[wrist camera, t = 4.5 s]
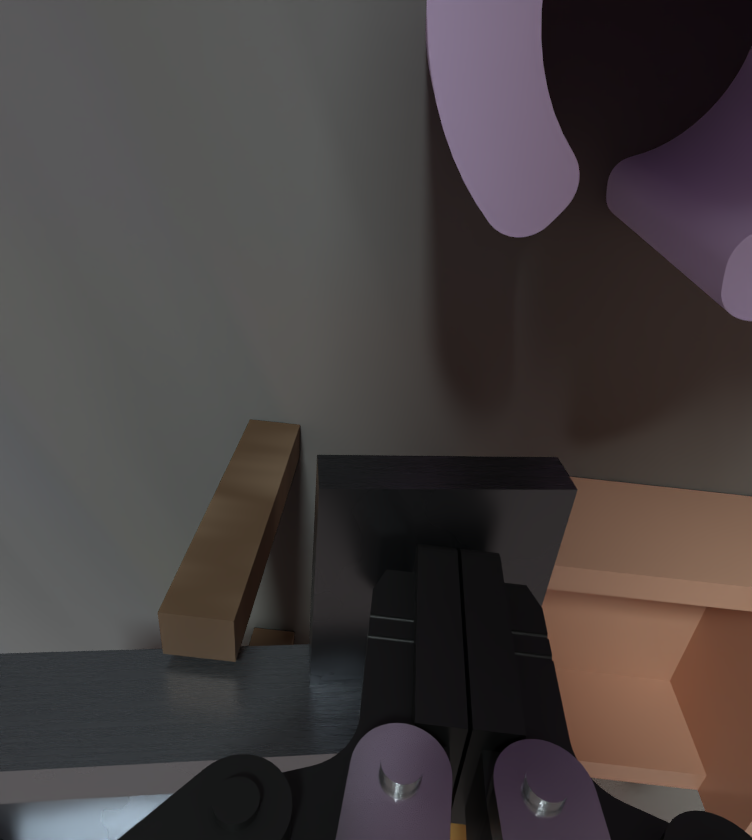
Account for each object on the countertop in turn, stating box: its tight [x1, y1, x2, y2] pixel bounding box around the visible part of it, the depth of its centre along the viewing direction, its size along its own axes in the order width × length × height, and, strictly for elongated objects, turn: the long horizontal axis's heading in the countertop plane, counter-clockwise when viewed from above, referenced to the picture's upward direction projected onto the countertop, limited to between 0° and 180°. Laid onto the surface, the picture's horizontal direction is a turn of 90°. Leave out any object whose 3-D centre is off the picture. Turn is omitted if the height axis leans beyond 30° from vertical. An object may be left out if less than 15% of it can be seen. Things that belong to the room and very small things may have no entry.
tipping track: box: [0, 455, 578, 840], centre depth 13 cm, size 13×12×3 cm
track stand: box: [158, 420, 300, 662], centre depth 18 cm, size 2×10×8 cm, turn 175°
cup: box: [542, 477, 752, 837], centre depth 19 cm, size 10×9×6 cm
